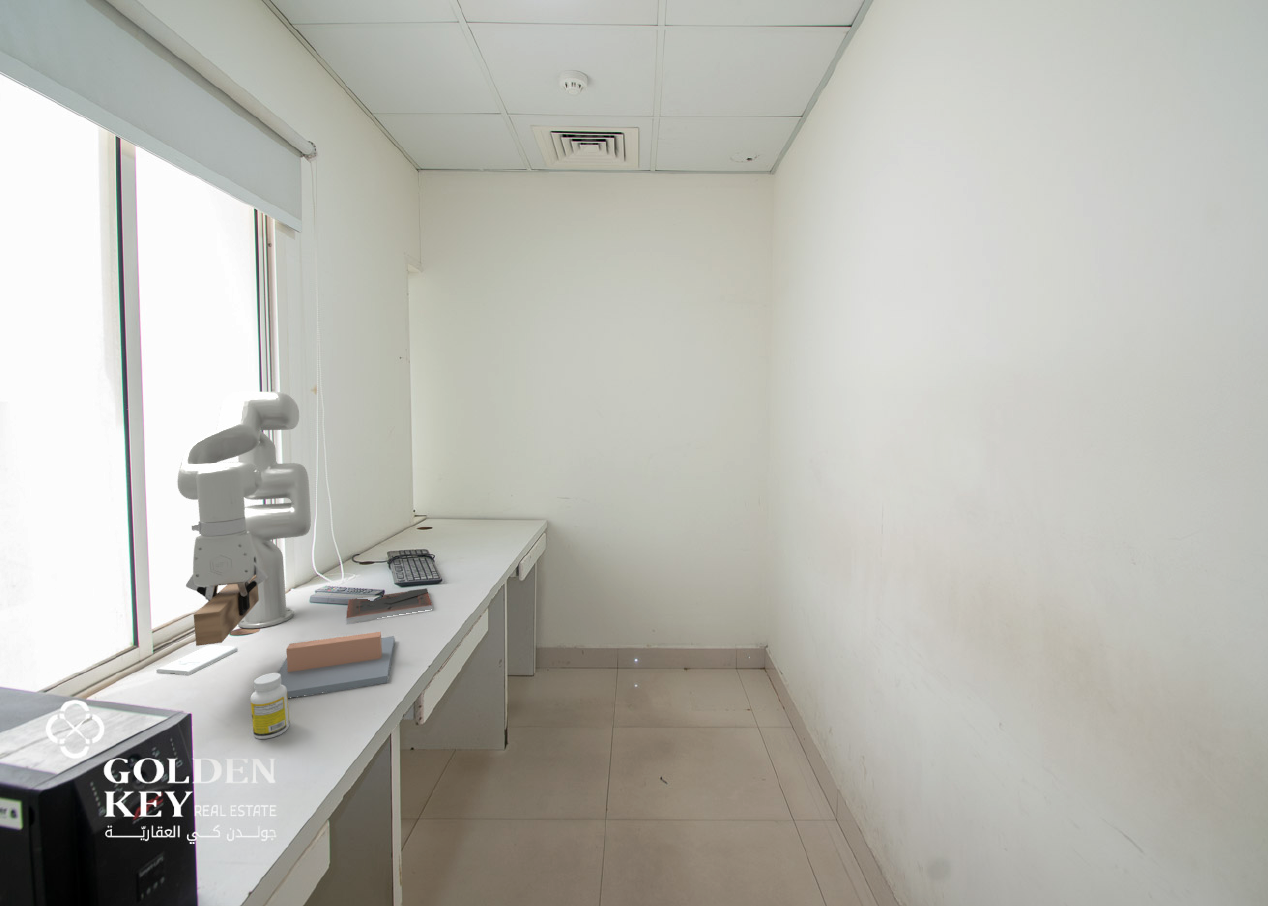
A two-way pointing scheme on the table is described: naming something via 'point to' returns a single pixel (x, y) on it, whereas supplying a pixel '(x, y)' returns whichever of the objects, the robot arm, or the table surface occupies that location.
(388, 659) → the ridge board
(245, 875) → the table surface
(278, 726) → the supplement bottle
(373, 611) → the picture frame
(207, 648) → the external hard drive
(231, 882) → the table surface
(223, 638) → the walnut beam
